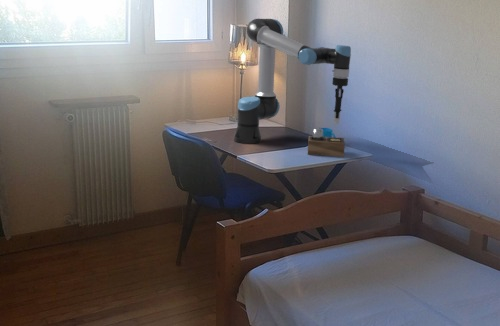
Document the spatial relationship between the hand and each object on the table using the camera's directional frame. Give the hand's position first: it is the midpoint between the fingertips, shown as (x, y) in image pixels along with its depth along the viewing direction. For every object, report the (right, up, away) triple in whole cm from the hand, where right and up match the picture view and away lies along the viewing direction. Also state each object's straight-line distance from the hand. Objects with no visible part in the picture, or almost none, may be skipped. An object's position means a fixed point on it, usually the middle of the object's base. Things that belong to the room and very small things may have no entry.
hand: (336, 124), depth 287 cm
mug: (-2, -10, +22) cm, 25 cm away
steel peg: (-9, -9, +3) cm, 13 cm away
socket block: (-5, -14, +4) cm, 16 cm away
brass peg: (0, -15, +4) cm, 15 cm away
